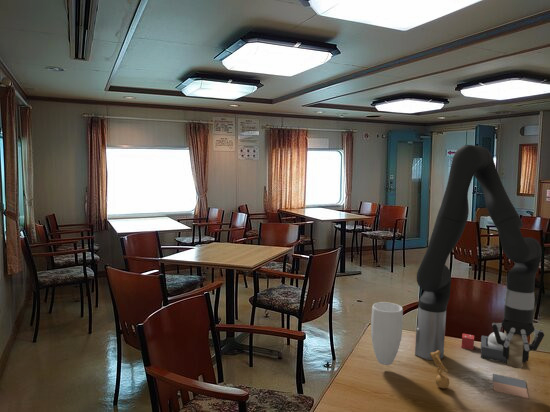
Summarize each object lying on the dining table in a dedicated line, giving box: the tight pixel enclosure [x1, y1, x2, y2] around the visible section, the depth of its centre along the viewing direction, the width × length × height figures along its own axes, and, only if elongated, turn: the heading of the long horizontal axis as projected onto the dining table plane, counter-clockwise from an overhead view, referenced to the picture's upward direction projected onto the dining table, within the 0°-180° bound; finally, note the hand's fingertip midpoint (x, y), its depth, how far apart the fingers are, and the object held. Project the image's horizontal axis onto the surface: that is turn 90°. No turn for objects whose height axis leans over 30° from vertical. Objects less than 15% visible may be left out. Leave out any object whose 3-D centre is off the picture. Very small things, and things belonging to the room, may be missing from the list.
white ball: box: [488, 331, 506, 349], centre depth 149 cm, size 7×7×7 cm
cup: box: [370, 301, 404, 366], centre depth 135 cm, size 10×10×22 cm
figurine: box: [430, 350, 450, 389], centre depth 126 cm, size 8×6×12 cm
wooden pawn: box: [506, 334, 524, 370], centre depth 124 cm, size 4×4×10 cm
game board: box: [492, 373, 529, 400], centre depth 128 cm, size 9×11×1 cm
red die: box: [460, 333, 475, 351], centre depth 155 cm, size 4×4×4 cm
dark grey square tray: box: [480, 335, 507, 364], centre depth 149 cm, size 11×11×4 cm
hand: (515, 359), depth 125 cm, fingers closed on wooden pawn, 4 cm apart
